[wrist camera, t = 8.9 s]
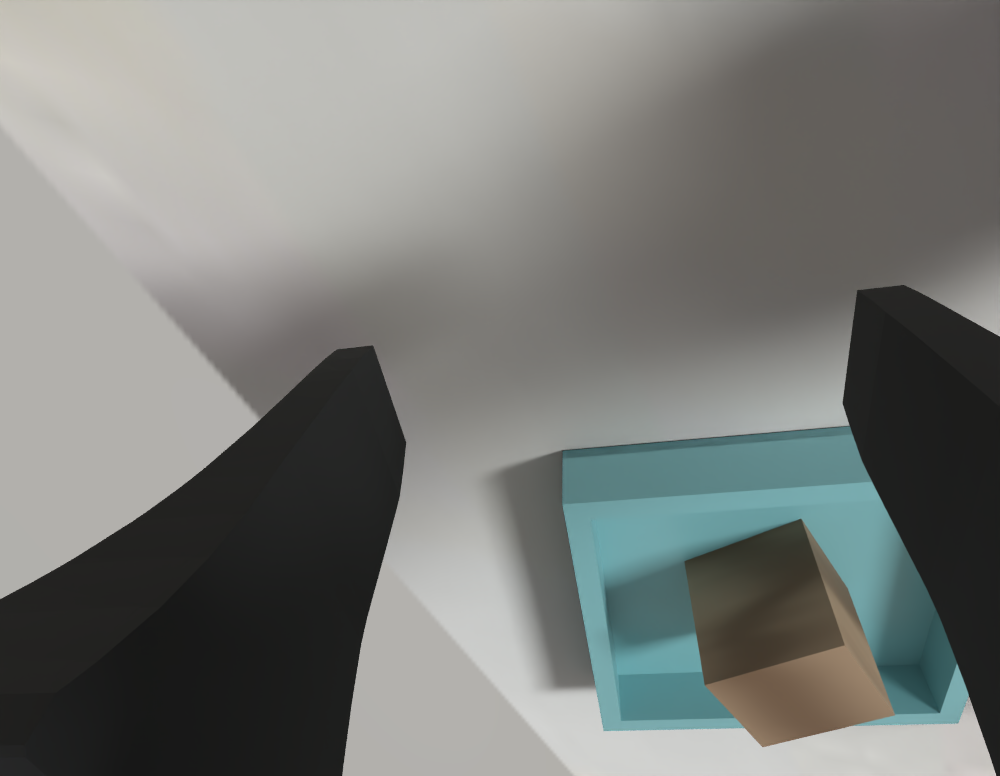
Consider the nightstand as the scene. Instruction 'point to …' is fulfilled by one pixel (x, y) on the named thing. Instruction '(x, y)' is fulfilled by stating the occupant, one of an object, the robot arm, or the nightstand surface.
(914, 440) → the robot arm
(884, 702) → the walnut block
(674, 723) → the teal tray
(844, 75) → the nightstand surface
